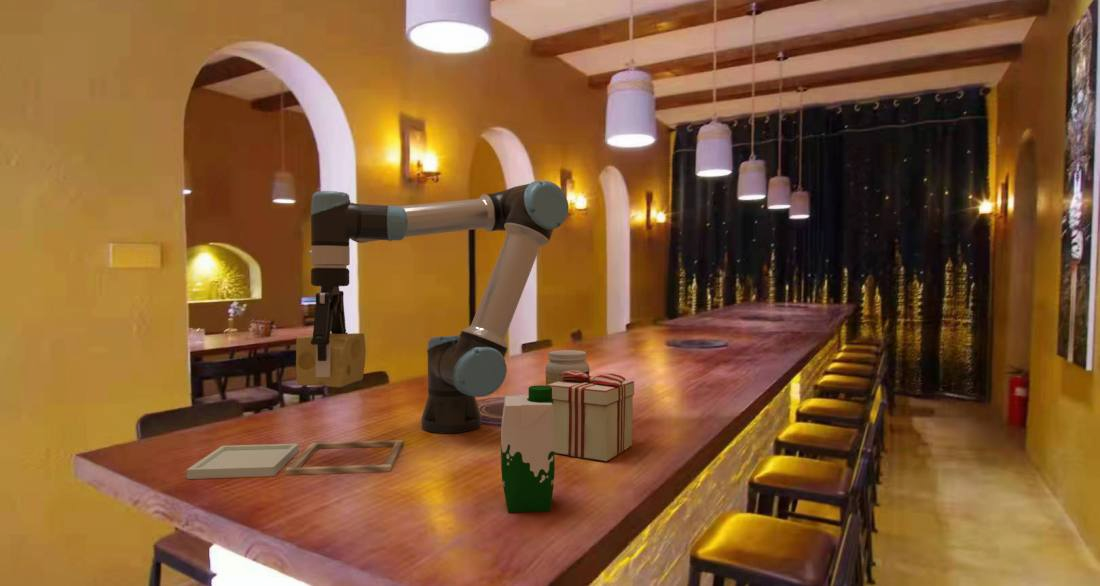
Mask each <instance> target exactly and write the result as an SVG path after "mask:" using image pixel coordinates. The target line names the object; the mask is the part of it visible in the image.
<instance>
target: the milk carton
mask: <svg viewBox="0 0 1100 586" xmlns="http://www.w3.org/2000/svg"><path fill="white" fill-rule="evenodd" d="M503 401H504V403H503V410H502V415H501V416H502V418H501V427H500V428H501V429H500V443H501V444H500V462H501V463H500V467H501V468H500V471H501V480H502V487H503V493H504V498H505V503H506V508H507V509H506V510H507V513H510V514H511V513H535V512H538V513H539V512H551V510H552V501H553V494H554V492H553V491H554V485H555V470H556V469H555V466H556V465H555V464H556V463H555V460H556V459H555V454H556V453H555V432H554V412H553V398H552V387H550V386H546V385H544V384H543V385H541V384H540V385H539V384H538V385H531V386H529V387H528V395H527V394H520V395H511V396H509V395H508V396H507V395H506V396H504V400H503Z"/></svg>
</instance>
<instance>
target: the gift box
mask: <svg viewBox="0 0 1100 586" xmlns="http://www.w3.org/2000/svg"><path fill="white" fill-rule="evenodd" d="M559 376H561V377H563V378H560V379H563V380H561V381H558V382H555V383H552V384H548V385H546V384H545V386H550V387H552V398H553V412H554V432H555V454H557V455H564V456H569V457H576V458H580V459H587V460H595V461H601V462H608V461H609V460H611V459H612V458H615V457H616V456H618V455H620V454H621V453H624V452H625V451H626V450H628V449H630V448H631V447H633V415H634V414H633V411H634V410H633V407H634V406H633V404H634V403H633V401H634V400H633V399H634V398H633V397H634V395H635V381H633V380H629V379H628V380H627V379H626V377H624V376H622V375H619V374H616V373H605V374H603V373H602V374H599V375H596V376H593V375H590V374H589V375H588V374H586V373H584V372H581V371H577V370H569V371H565V372H563V373H561V374H560V375H559ZM630 446H631V447H630ZM629 447H630V448H629ZM627 448H628V449H627ZM624 450H625V451H624Z"/></svg>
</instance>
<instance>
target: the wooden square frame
mask: <svg viewBox="0 0 1100 586" xmlns="http://www.w3.org/2000/svg"><path fill="white" fill-rule="evenodd" d="M403 446H404V440H403V439H398V440H397V439H394V440H393V439H391V440H390V439H389V440H361V441H360V440H359V441H358V440H357V441H354V440H353V441H321V442H320V441H319V442H318V441H317V442H312V443H310V445H308V446H307V448H306V449H304V451H303V452H301V454H300V455H299V456H298V457H296V459H294V461H293V462H292V463H291V464H290V465H288V466H287V468H285V470H284V472H285V476H297V475H302V476H303V475H325V474H326V475H329V474H331V475H332V474H334V475H335V474H357V473H358V474H361V473H365V474H366V473H387V472H389V473H390V472H391V471H392V469H393V467H394V465H395V463H396V461H397V459H398V457H399V454H400V452H401V451H402V448H403ZM378 447H379V448H385V447H386V448H388V447H389V448H390V447H392V448H391V451H390V452H389V454H388V455H387V458H386V459H385V462H384V463H383V464H361V465H359V464H358V465H357V464H355V465H329V466H327V465H326V466H325V465H324V466H303V465H305V463H306V462H307V461H308V460H309V459H310V458H311V457H312V456H313V455H314V453H315V452H316V451H317V450H319V449H321V450H322V449H351V448H355V449H357V448H358V449H359V448H378ZM302 466H303V467H302Z"/></svg>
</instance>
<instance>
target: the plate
mask: <svg viewBox="0 0 1100 586" xmlns="http://www.w3.org/2000/svg"><path fill="white" fill-rule="evenodd" d="M299 448H300V444H299V443H277V444H275V443H274V444H272V443H269V444H239V445H237V444H236V445H235V444H234V445H221V446H219V447H218V448H216V449H215V450H214V451H212V452H211V453H208V454H207V455H206V456H205V457H203V458H202V459H200V460H198V461H197V462H196V463H193V465H191V466H190V467H188V468H187V469H186V479H187V480H196V479H199V480H201V479H203V480H204V479H230V478H258V477H259V478H260V477H262V478H264V477H275V476H276V475H277V474H278V473H279V472H280V471H281V470H282V469H283V468H284V467H285V466H286V465H287V464H288V463H289V462H290V461H291V460H292V459H293V458H294V457H295V456H296V455H297V454H298V453H300V449H299Z"/></svg>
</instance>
